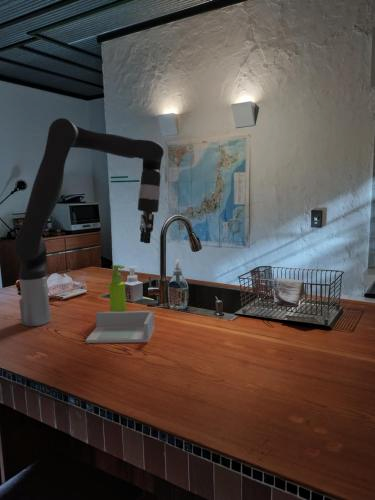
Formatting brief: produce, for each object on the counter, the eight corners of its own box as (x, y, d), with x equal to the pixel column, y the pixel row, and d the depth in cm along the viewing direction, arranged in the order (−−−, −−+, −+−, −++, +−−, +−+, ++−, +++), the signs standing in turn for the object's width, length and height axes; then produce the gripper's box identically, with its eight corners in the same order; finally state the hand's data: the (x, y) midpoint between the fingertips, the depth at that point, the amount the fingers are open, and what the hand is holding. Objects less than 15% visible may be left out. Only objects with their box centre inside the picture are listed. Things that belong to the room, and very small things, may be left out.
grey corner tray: (85, 342, 122) (84, 324, 122) (97, 328, 135) (96, 312, 134) (148, 342, 121) (147, 323, 120) (154, 327, 134) (153, 311, 133)
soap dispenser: (120, 320, 143) (117, 267, 140) (107, 317, 147) (104, 265, 144) (131, 316, 147) (128, 264, 145) (119, 313, 152) (116, 263, 149)
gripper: (136, 198, 147) (132, 241, 147) (141, 195, 133) (137, 242, 134) (155, 200, 149) (151, 242, 150) (163, 198, 135) (158, 244, 136)
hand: (144, 242), depth 142 cm, fingers open, 8 cm apart
